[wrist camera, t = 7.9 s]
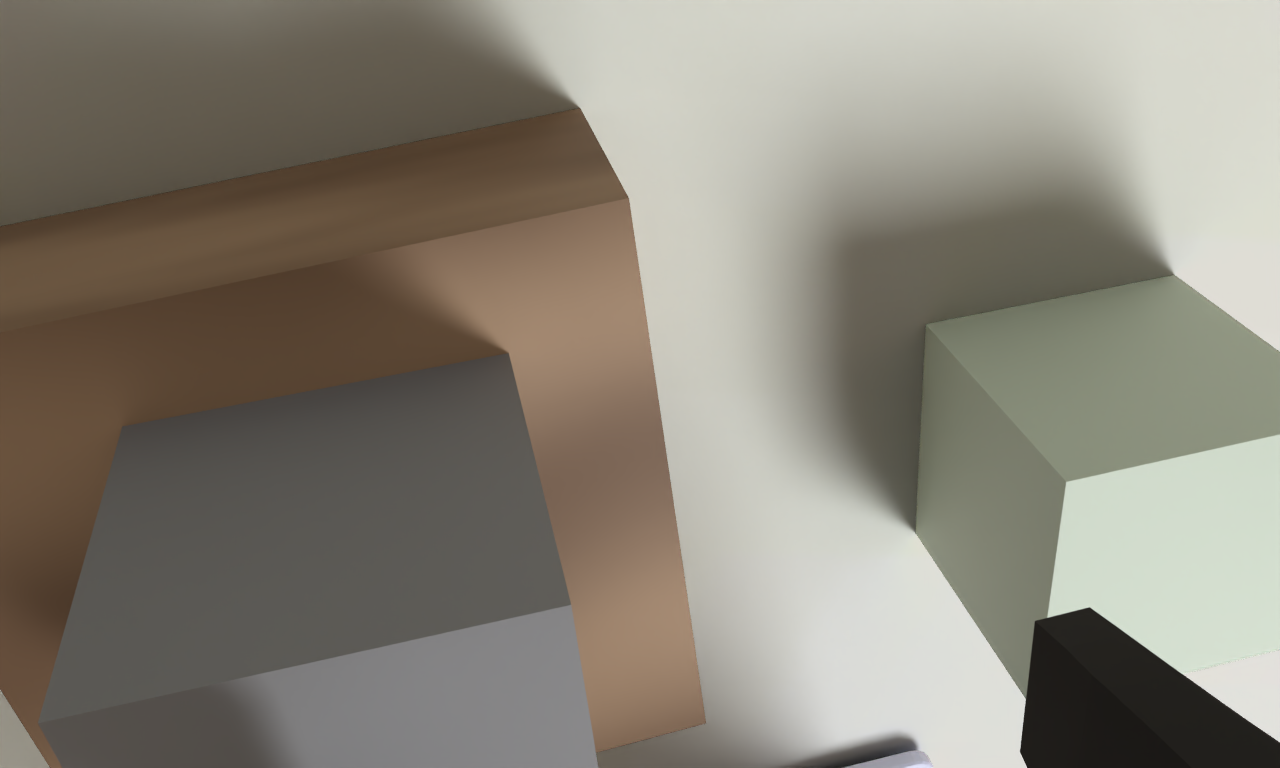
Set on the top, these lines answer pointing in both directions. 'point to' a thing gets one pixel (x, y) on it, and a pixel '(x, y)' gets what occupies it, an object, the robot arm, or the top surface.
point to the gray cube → (326, 589)
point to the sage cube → (1106, 471)
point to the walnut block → (355, 366)
